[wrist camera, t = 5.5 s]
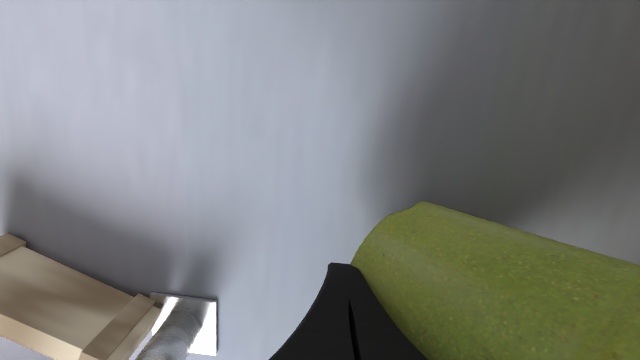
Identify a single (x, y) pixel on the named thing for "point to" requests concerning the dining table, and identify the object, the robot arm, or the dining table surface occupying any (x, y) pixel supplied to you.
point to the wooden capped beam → (67, 309)
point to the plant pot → (498, 290)
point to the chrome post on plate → (182, 328)
